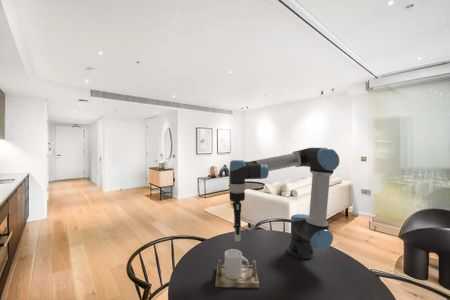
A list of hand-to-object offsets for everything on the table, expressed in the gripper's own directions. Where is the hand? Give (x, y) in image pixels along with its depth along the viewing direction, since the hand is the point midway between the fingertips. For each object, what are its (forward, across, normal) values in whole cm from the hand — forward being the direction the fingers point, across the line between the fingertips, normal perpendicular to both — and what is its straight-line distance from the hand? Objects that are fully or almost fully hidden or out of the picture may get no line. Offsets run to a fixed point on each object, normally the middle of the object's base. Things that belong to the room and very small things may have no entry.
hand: (237, 234), depth 101 cm
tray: (+22, 0, 0) cm, 22 cm away
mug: (+20, 0, 0) cm, 21 cm away
